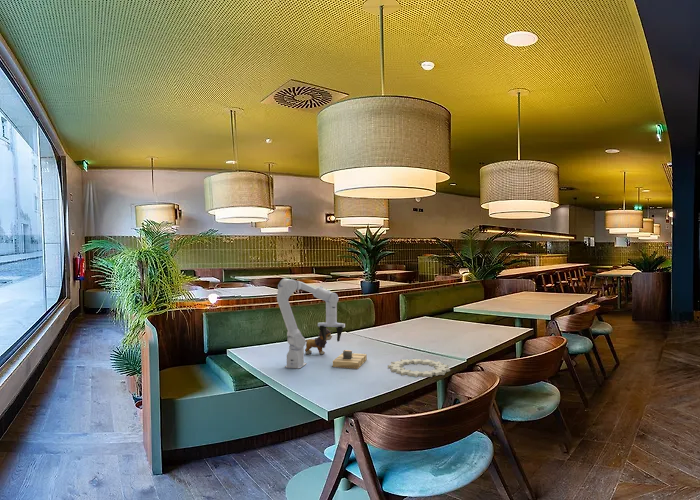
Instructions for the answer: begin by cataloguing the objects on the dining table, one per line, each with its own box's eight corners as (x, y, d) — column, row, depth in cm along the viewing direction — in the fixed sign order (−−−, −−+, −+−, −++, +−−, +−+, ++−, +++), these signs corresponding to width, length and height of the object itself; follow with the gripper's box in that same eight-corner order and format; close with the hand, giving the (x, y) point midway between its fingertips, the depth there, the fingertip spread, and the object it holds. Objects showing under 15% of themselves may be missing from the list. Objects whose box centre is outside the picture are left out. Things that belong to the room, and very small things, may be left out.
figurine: (331, 356, 243) (331, 328, 243) (294, 354, 248) (293, 327, 247) (334, 353, 250) (334, 326, 250) (298, 351, 254) (297, 325, 254)
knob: (353, 363, 228) (353, 349, 228) (350, 365, 224) (350, 351, 224) (344, 362, 230) (344, 349, 230) (341, 364, 225) (341, 351, 225)
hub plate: (357, 368, 217) (357, 362, 217) (332, 367, 221) (332, 360, 221) (366, 359, 235) (366, 353, 234) (343, 358, 238) (343, 352, 238)
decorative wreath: (448, 362, 229) (390, 360, 234) (448, 359, 229) (390, 357, 234) (451, 379, 200) (384, 376, 205) (451, 376, 200) (384, 373, 205)
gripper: (346, 314, 235) (346, 339, 235) (320, 313, 239) (320, 338, 239) (342, 316, 228) (343, 342, 229) (316, 315, 232) (316, 341, 232)
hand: (331, 340), depth 233 cm, fingers open, 7 cm apart
